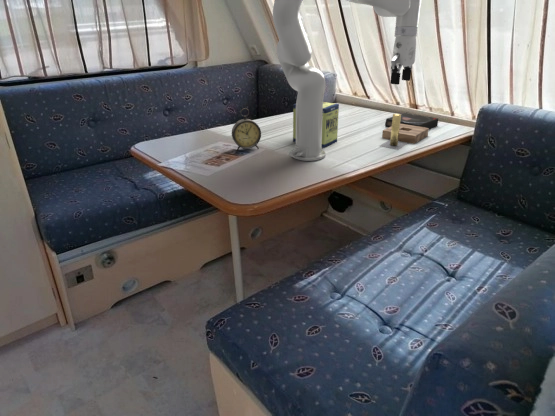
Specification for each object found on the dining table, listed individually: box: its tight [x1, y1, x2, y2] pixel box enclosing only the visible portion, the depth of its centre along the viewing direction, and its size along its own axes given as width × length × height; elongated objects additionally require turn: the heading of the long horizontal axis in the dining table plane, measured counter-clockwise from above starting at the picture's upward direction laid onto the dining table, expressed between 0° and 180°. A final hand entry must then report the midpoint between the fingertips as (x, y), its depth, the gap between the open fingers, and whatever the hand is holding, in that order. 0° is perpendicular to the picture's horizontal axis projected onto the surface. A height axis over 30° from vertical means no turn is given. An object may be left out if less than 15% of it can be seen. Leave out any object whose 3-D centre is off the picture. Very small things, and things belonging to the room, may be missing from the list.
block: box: [381, 124, 430, 145], centre depth 171 cm, size 14×14×4 cm
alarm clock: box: [231, 107, 262, 152], centre depth 158 cm, size 11×5×16 cm, turn 105°
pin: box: [389, 113, 402, 146], centre depth 159 cm, size 3×3×12 cm
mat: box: [379, 139, 410, 151], centre depth 162 cm, size 10×8×1 cm
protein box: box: [292, 101, 340, 149], centre depth 165 cm, size 10×16×16 cm
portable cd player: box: [384, 112, 439, 130], centre depth 186 cm, size 16×17×4 cm
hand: (400, 82), depth 152 cm, fingers open, 9 cm apart
